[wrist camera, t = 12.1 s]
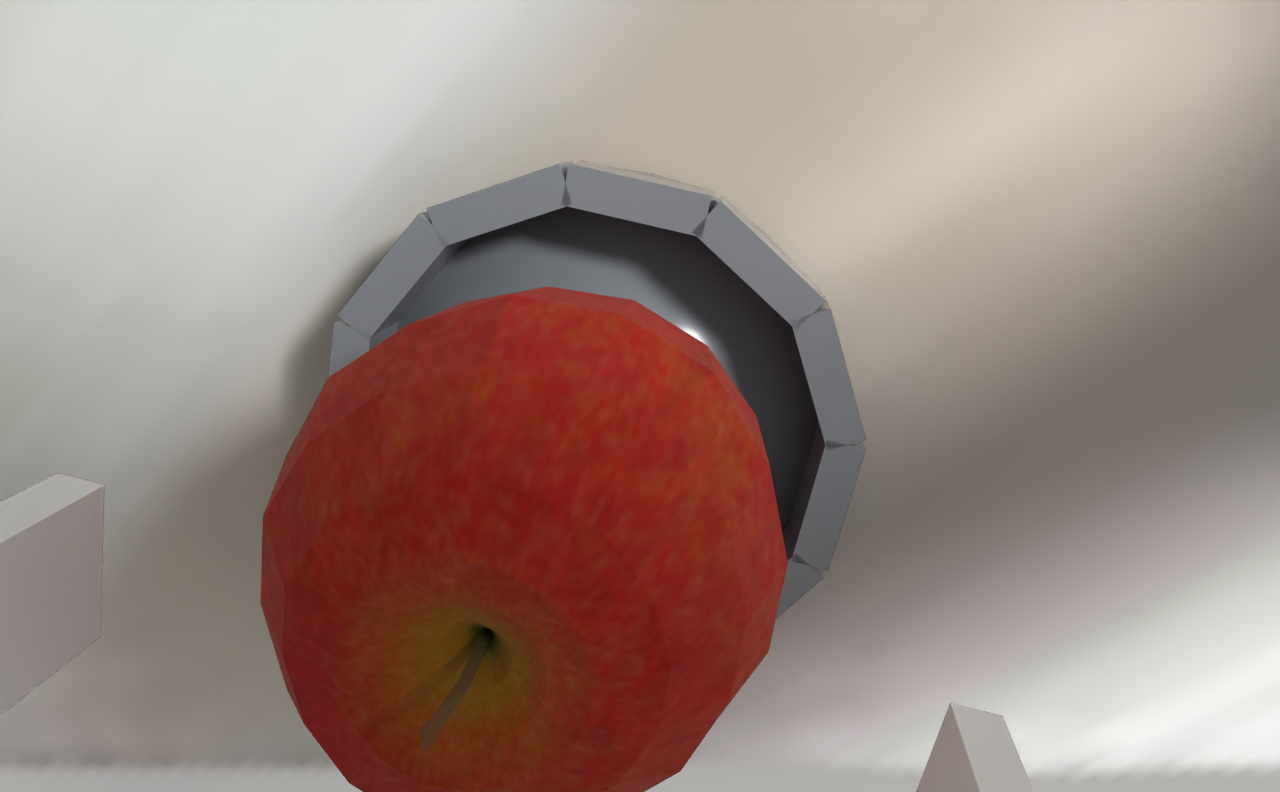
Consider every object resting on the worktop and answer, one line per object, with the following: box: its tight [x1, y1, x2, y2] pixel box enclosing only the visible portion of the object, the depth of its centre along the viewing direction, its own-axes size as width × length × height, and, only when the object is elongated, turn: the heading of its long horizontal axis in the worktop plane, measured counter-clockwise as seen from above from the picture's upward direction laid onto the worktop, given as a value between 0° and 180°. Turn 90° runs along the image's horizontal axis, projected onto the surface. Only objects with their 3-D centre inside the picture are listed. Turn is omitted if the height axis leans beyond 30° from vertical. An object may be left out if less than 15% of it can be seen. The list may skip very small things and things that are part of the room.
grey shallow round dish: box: [328, 161, 866, 620], centre depth 25 cm, size 14×14×3 cm
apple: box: [261, 286, 788, 792], centre depth 19 cm, size 10×10×14 cm
